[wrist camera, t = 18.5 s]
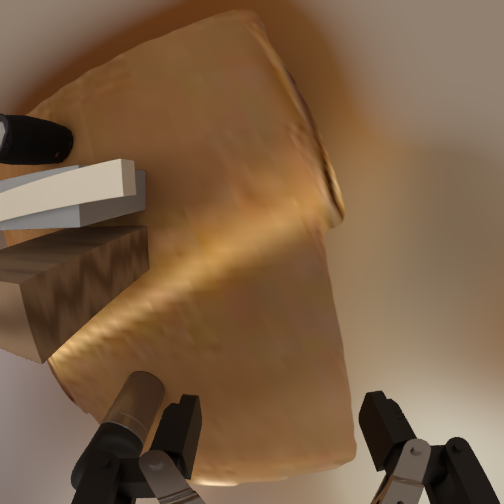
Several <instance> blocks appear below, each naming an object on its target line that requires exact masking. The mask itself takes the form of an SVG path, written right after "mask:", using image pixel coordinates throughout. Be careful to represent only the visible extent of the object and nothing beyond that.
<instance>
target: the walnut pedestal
mask: <svg viewBox="0 0 504 504" xmlns="http://www.w3.org/2000/svg"><path fill="white" fill-rule="evenodd" d="M147 270H149V259H148V244H147V226H117V227H72V228H67V229H64V230H60V231H57V232H54V233H50V234H47V235H44V236H41V237H37V238H34V239H31V240H28V241H25V242H22V243H19V244H16V245H13V246H10V247H7V248H4V249H2V250H0V348H1V349H3V350H6V351H8V352H11V353H13V354H15V355H18V356H21V357H23V358H26V359H29V360H31V361H34V362H37V363H40V364H43V363H44V362H45V361H46V360H47V359H48V358H49V357H50V356H51V355H52V354H53V353H55V352H56V351H57V350H58V349H59V348H60V347H61V346H62V345H63V344H64V343H65V342H66V341H67V340H68V339H69V338H70V337H72V336H73V335H74V334H75V333H76V332H77V331H78V330H79V329H80V328H81V327H83V326H84V325H85V324H86V323H87V322H88V321H89V320H90V319H91V318H93V317H94V316H95V315H96V314H97V313H98V312H99V311H100V310H102V309H103V308H104V307H105V306H106V305H107V304H108V303H110V302H111V301H112V300H113V299H114V298H115V297H116V296H118V295H119V294H120V293H121V292H122V291H123V290H125V289H126V288H127V287H128V286H129V285H131V284H132V283H133V282H134V281H135V280H136V279H138V278H139V277H140V276H141V275H142V274H144V273H145V272H146V271H147Z"/></svg>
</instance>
